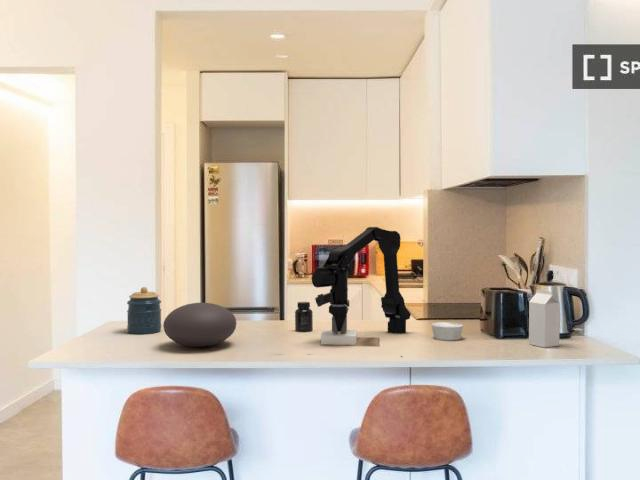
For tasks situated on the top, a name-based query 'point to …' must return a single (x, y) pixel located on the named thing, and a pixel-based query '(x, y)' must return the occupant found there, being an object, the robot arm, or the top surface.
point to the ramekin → (447, 331)
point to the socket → (339, 337)
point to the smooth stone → (199, 324)
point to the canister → (144, 312)
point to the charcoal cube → (334, 327)
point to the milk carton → (544, 319)
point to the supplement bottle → (303, 317)
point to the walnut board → (361, 342)
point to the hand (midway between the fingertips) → (339, 329)
